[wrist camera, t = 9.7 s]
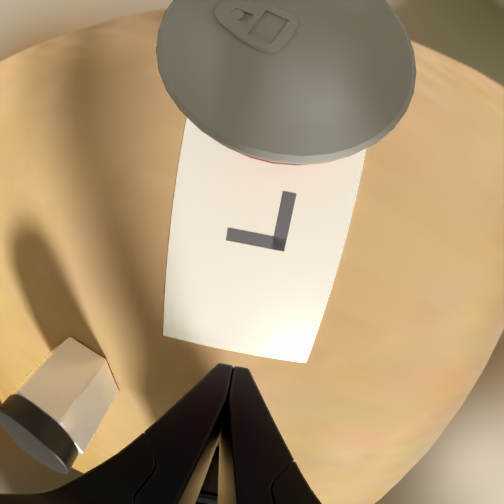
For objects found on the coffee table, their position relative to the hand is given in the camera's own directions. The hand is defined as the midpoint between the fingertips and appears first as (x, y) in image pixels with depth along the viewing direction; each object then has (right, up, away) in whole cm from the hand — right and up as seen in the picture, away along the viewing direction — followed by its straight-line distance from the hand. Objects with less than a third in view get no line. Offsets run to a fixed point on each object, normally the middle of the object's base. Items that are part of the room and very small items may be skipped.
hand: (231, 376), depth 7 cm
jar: (-17, -9, +18) cm, 27 cm away
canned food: (+2, +13, +9) cm, 16 cm away
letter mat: (+1, +6, +12) cm, 13 cm away
